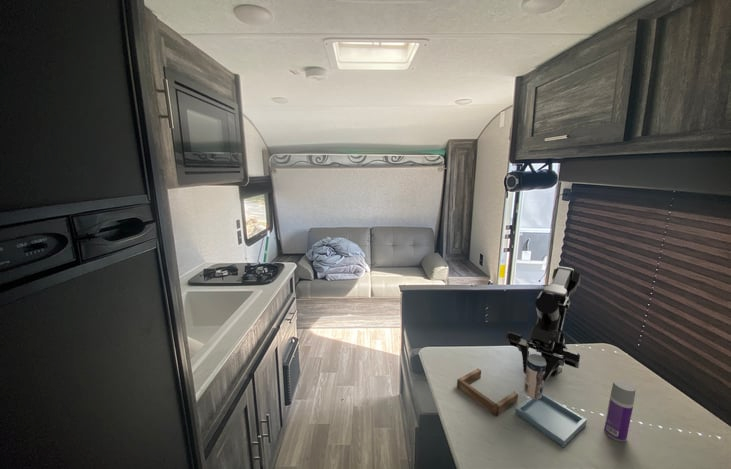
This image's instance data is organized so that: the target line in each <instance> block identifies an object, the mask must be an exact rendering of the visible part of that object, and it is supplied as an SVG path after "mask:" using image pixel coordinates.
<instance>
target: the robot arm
mask: <svg viewBox="0 0 731 469" xmlns="http://www.w3.org/2000/svg"><path fill="white" fill-rule="evenodd" d="M581 278H582V277H581V273H579V272H577V271H575V270H574V268H572V267H566V266H557V267H556V268H554V269H553V272H552V276H551V279H552V282H551V284H550V285H546V286H545V287H544V288H543V290H541V291H540V292H539V294H538V295H537V297H536V300H535V304H534V306H535V308H536V314H537V320H536V323H535V327H532V328H531V332H530V337H529V338H530V340H531V341H530V340H528V339H524V337H523V335H522V334H521V333H518V332H514V331H511V330H510V331H508V332H507V334H506V336H505V340H506V342H507V344H508V345H510V346H512V347H515V348H517V350H518V351H519V352H521V357H522V367H523V368H522V369H523V370H522V371H523V374H526V368H527V360H528V357H529V356H530V351H529V349H532V350H535V351H536V352H537V353H540V356H542V357H543V358H544V359H545V361H546V363H547V364H546V370H545V375H544V382H547V380H548V379H549V377H550V376H552V377H555V376H556V375H558V374H559V373H561V372H563V368H561V367H564V366H565V365H566V366H569V367H573V368H575V369H579V367H580V362H581V355H580V353H579V352H577V351H573V350H570V349H568V348H567V344H566V343H565V336H564V334H563V326H564V321H565V319H566V318H565V317H566V313H567V310H568V309H569V307H570V305H571V300H570V296H571V295H572V294H574V293H575V292H576V291H577V287H580V283H581ZM560 366H561V367H560Z"/></svg>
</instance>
